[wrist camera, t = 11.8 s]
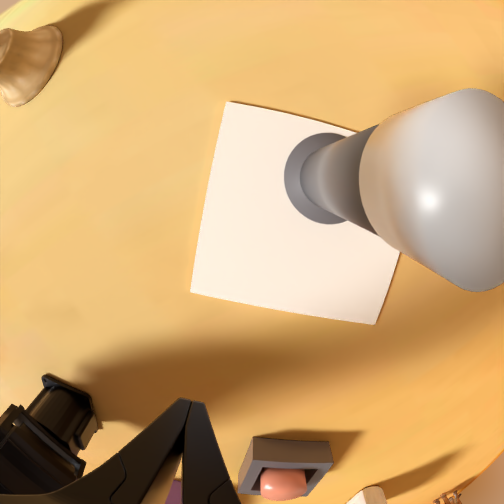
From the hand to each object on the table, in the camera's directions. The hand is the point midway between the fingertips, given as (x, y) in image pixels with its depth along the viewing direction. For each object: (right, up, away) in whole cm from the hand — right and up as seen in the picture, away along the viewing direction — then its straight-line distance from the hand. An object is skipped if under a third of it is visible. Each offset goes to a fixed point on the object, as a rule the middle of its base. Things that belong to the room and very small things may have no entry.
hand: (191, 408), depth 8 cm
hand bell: (-18, +22, +7) cm, 29 cm away
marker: (+7, +10, +9) cm, 15 cm away
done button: (+5, -17, +17) cm, 25 cm away
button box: (+5, -17, +17) cm, 25 cm away
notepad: (+6, +7, +10) cm, 14 cm away
